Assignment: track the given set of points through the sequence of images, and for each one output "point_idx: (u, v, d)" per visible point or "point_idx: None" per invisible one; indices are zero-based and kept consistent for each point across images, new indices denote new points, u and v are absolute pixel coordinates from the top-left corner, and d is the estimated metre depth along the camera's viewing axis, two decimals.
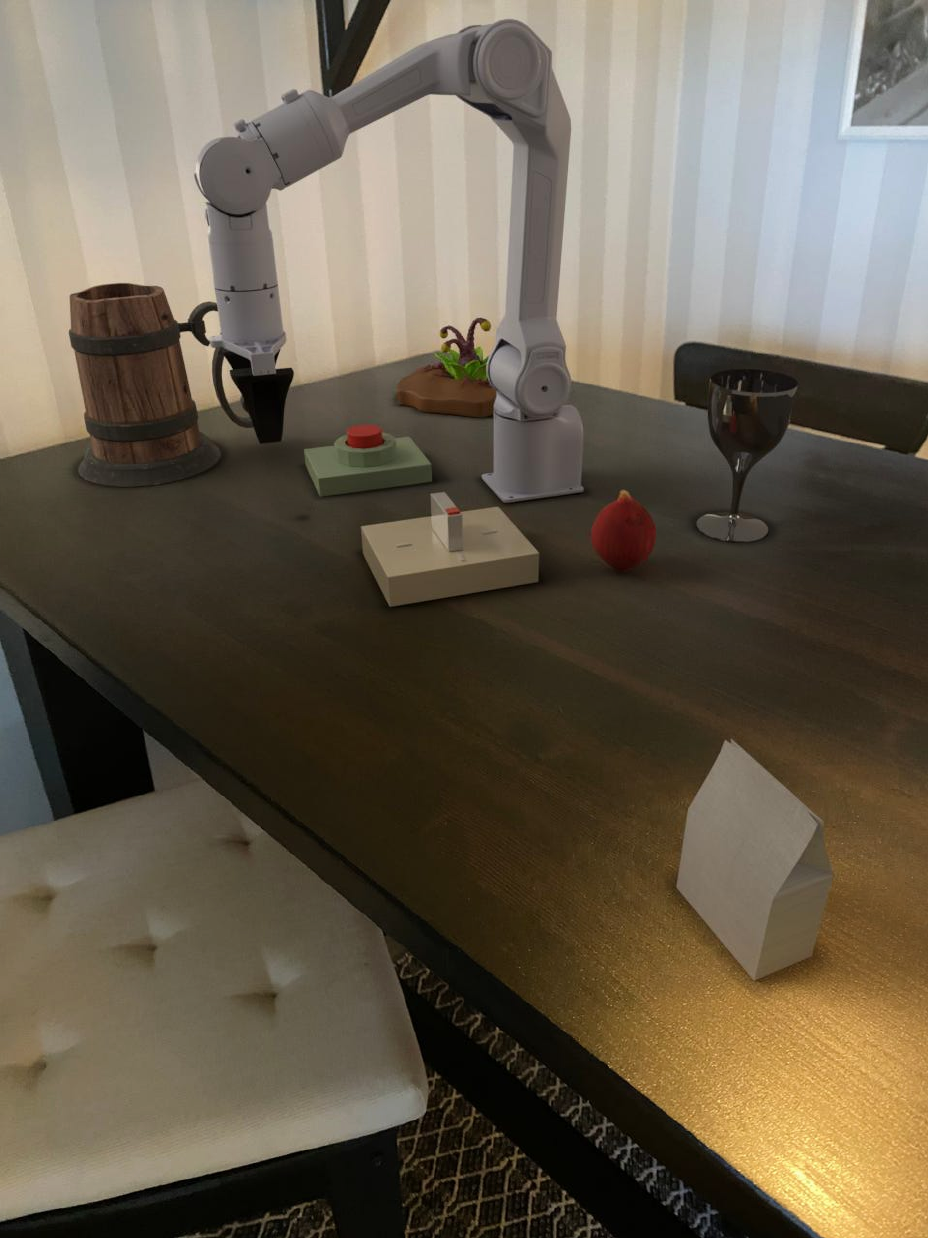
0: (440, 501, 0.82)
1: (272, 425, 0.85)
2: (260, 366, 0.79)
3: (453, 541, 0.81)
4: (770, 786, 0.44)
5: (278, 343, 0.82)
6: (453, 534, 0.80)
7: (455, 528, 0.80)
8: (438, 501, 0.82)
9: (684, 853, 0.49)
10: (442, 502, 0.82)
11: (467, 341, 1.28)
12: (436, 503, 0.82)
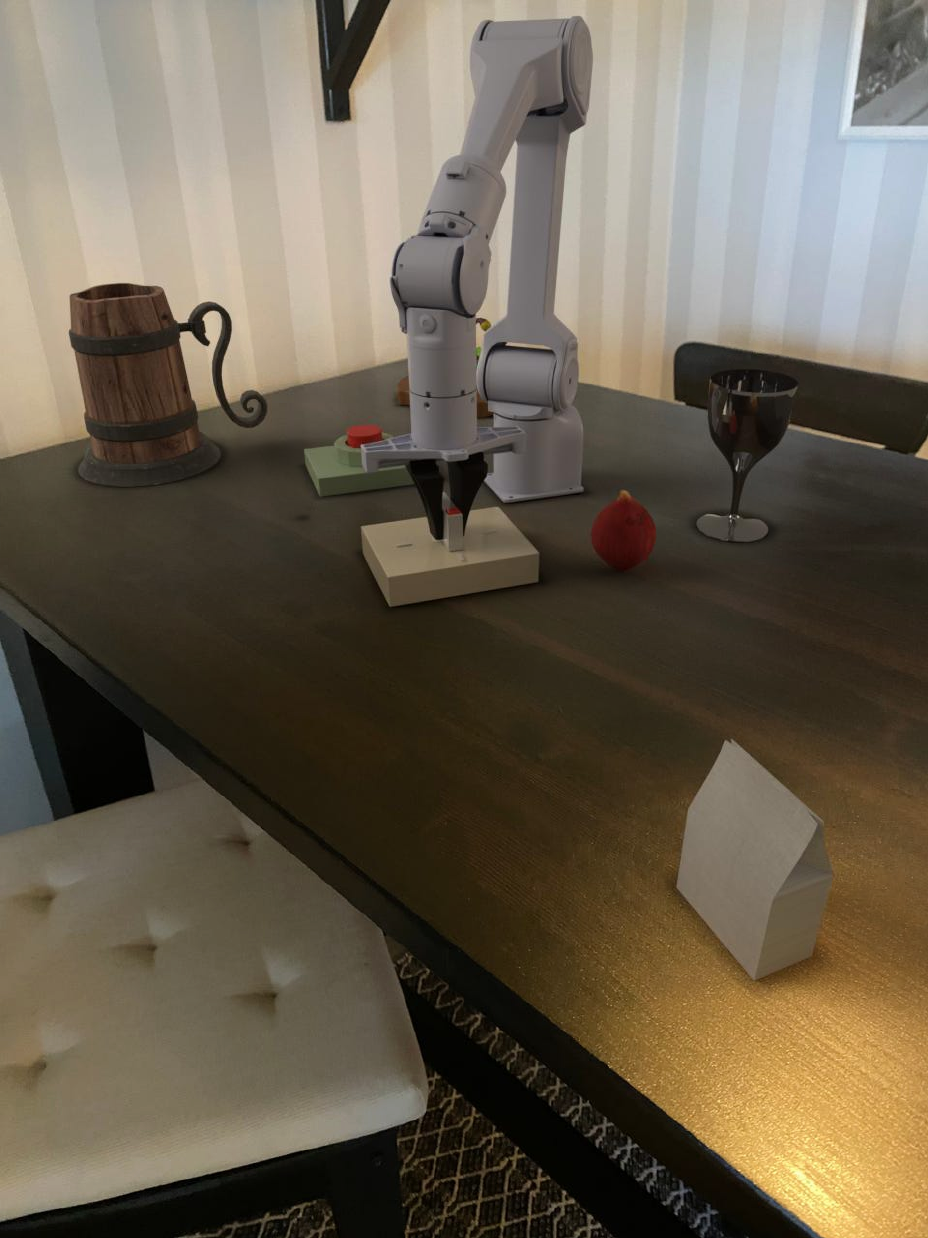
0: None
1: None
2: None
3: (453, 541, 0.81)
4: (770, 786, 0.44)
5: None
6: (453, 534, 0.80)
7: (455, 528, 0.80)
8: None
9: (685, 853, 0.49)
10: (442, 502, 0.82)
11: None
12: None
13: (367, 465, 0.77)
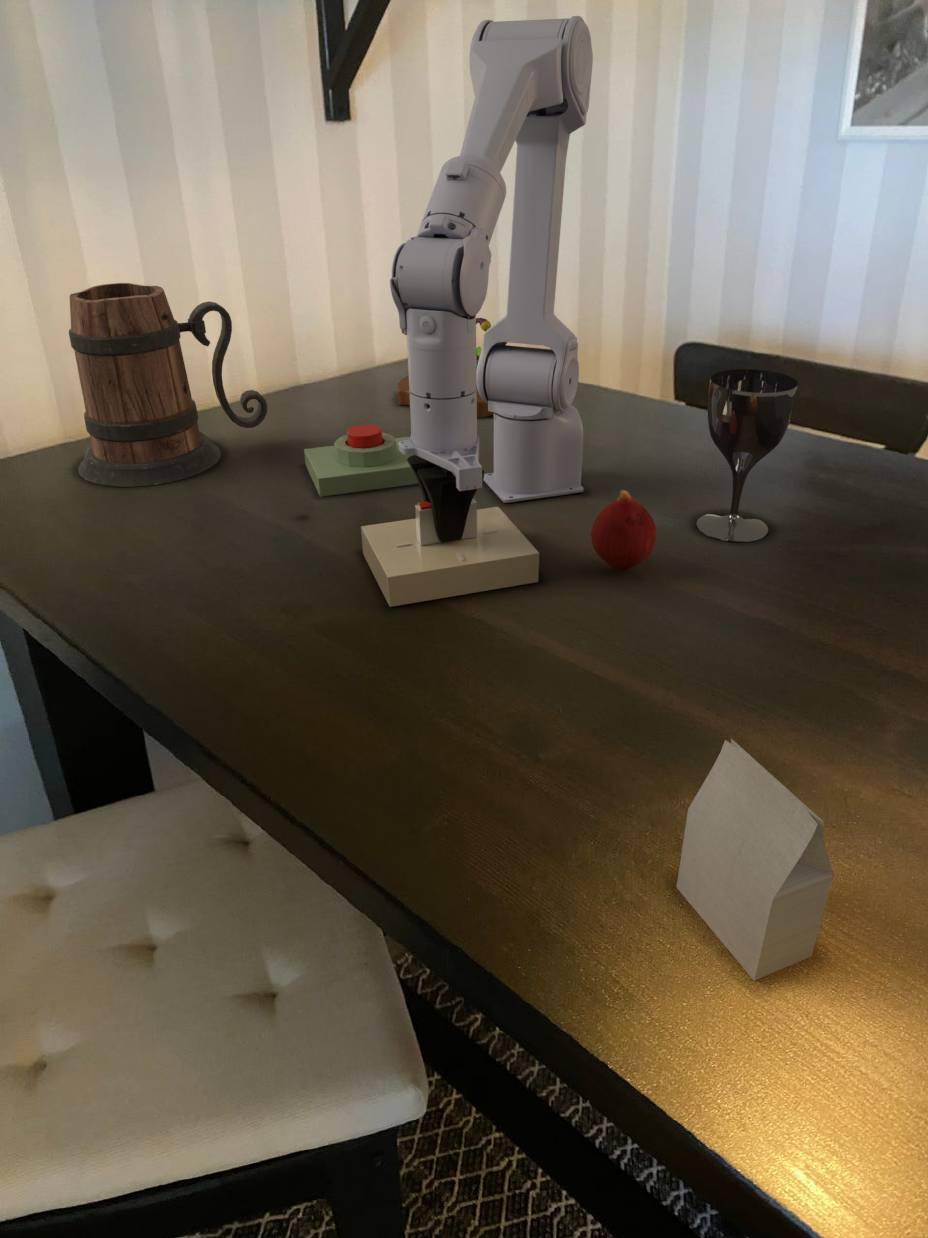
0: None
1: (455, 524, 0.81)
2: (467, 481, 0.73)
3: (417, 532, 0.82)
4: (770, 786, 0.44)
5: (478, 452, 0.76)
6: (417, 525, 0.82)
7: (417, 520, 0.82)
8: None
9: (685, 853, 0.49)
10: None
11: None
12: None
13: None
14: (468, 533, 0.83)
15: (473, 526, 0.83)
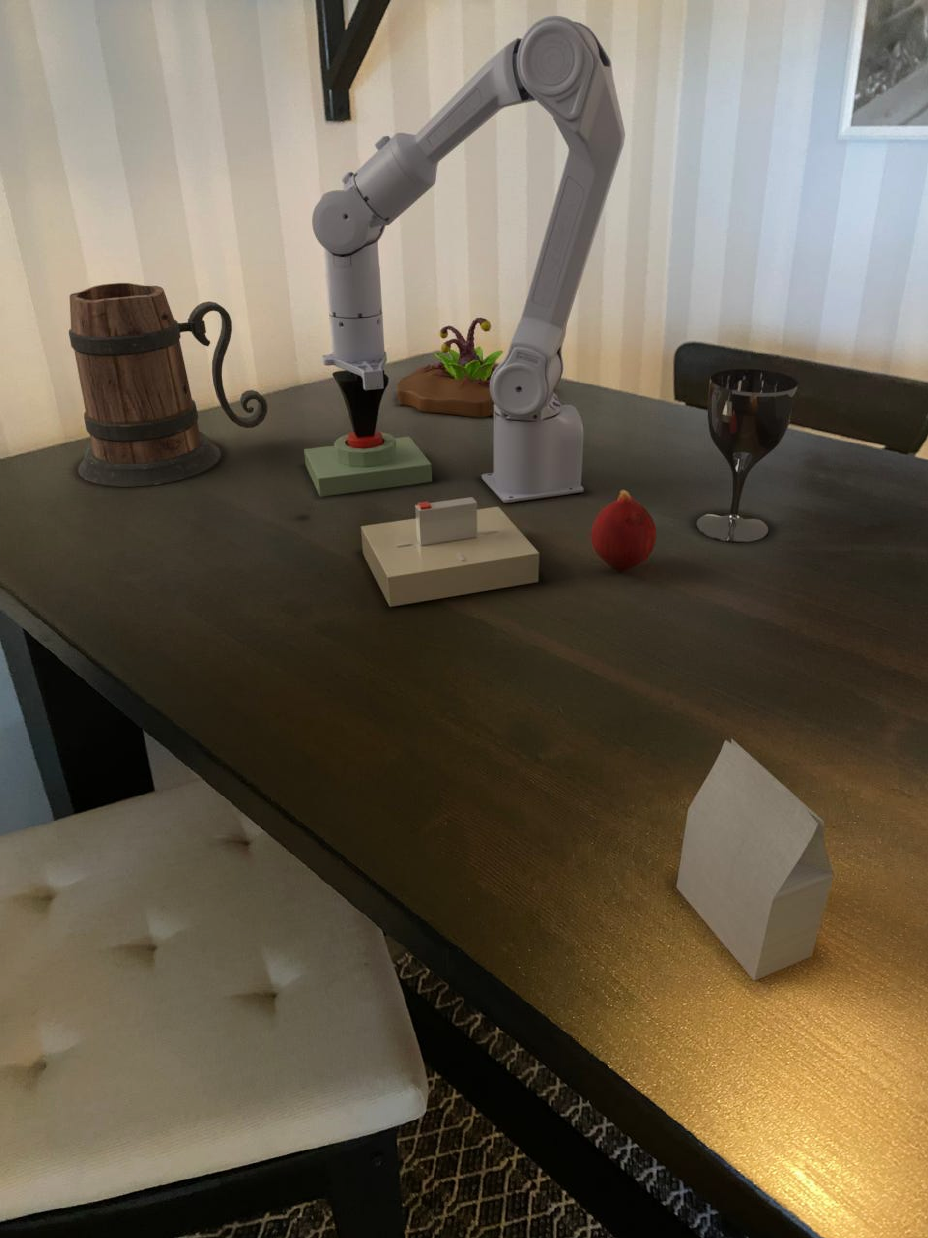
0: (452, 501, 0.82)
1: (368, 422, 1.02)
2: (371, 382, 0.93)
3: (417, 532, 0.82)
4: (770, 786, 0.44)
5: (383, 362, 0.96)
6: (417, 525, 0.82)
7: (417, 520, 0.82)
8: (451, 500, 0.82)
9: (685, 853, 0.49)
10: (450, 501, 0.82)
11: (467, 341, 1.28)
12: (451, 501, 0.83)
13: None
14: (468, 533, 0.83)
15: (473, 526, 0.83)
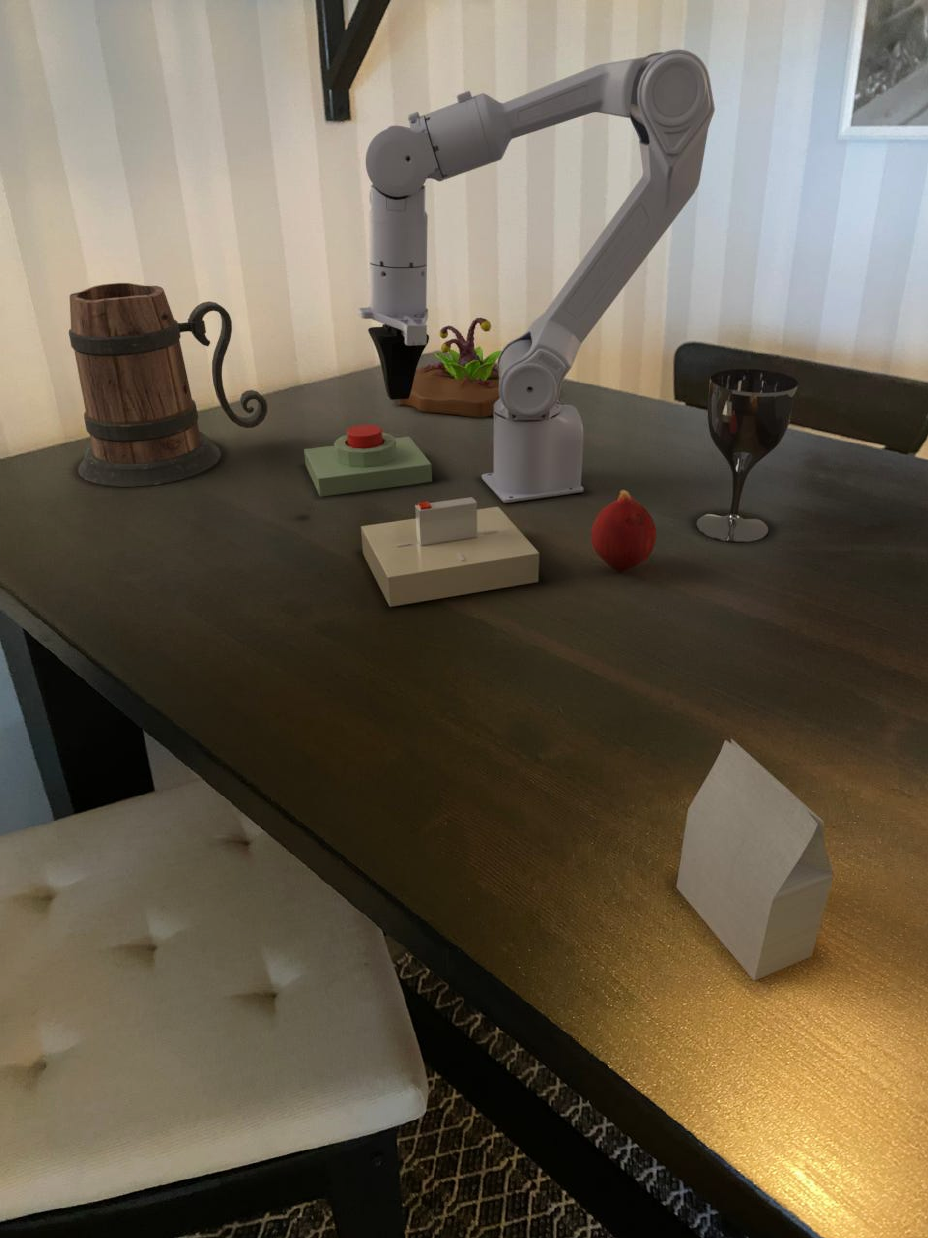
0: (452, 501, 0.82)
1: (403, 383, 0.95)
2: (414, 337, 0.87)
3: (417, 532, 0.82)
4: (770, 786, 0.44)
5: (425, 317, 0.90)
6: (417, 525, 0.82)
7: (417, 520, 0.82)
8: (451, 500, 0.82)
9: (685, 853, 0.49)
10: (450, 501, 0.82)
11: (467, 341, 1.28)
12: (451, 501, 0.83)
13: None
14: (468, 533, 0.83)
15: (473, 526, 0.83)
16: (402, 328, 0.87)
